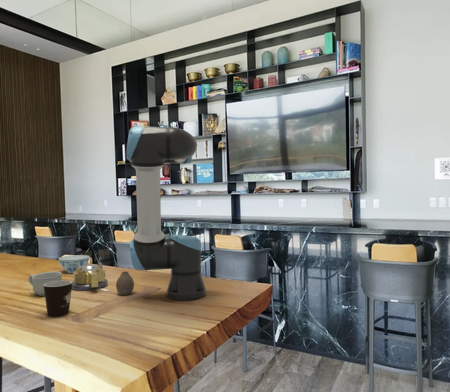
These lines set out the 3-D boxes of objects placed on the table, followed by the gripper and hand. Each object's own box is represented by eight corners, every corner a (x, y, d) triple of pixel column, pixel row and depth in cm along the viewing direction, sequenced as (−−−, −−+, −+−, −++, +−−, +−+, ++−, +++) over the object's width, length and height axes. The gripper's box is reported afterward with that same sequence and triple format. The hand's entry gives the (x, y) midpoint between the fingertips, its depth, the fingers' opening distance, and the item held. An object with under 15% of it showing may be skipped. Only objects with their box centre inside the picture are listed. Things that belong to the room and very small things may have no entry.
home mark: (109, 291, 146) (109, 290, 146) (106, 291, 145) (106, 291, 145) (102, 289, 149) (102, 288, 149) (99, 289, 148) (99, 289, 148)
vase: (129, 296, 137) (128, 274, 137) (112, 295, 139) (112, 273, 139) (137, 292, 144) (136, 270, 144) (121, 291, 145) (121, 270, 146)
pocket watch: (81, 279, 169) (81, 258, 169) (94, 275, 177) (94, 255, 177) (95, 280, 166) (95, 259, 166) (107, 276, 173) (107, 256, 174)
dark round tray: (104, 289, 148) (104, 268, 148) (66, 291, 146) (66, 269, 146) (110, 281, 163) (110, 262, 163) (75, 283, 161) (75, 263, 161)
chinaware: (69, 269, 195) (69, 254, 195) (94, 269, 193) (94, 255, 193) (52, 274, 180) (52, 259, 180) (80, 275, 178) (79, 259, 178)
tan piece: (72, 279, 157) (72, 267, 157) (101, 276, 163) (101, 264, 163) (78, 289, 140) (78, 275, 140) (110, 284, 146) (110, 272, 146)
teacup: (67, 292, 146) (67, 272, 146) (44, 299, 136) (44, 278, 136) (44, 288, 151) (44, 270, 152) (20, 295, 142) (20, 275, 142)
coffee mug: (53, 319, 112) (53, 288, 112) (38, 315, 116) (38, 284, 116) (85, 309, 121) (85, 280, 122) (70, 306, 126) (70, 277, 126)
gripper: (166, 183, 171) (161, 231, 164) (142, 185, 176) (136, 232, 169) (158, 178, 164) (153, 228, 158) (133, 180, 169) (127, 228, 162)
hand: (144, 230), depth 163 cm, fingers closed
